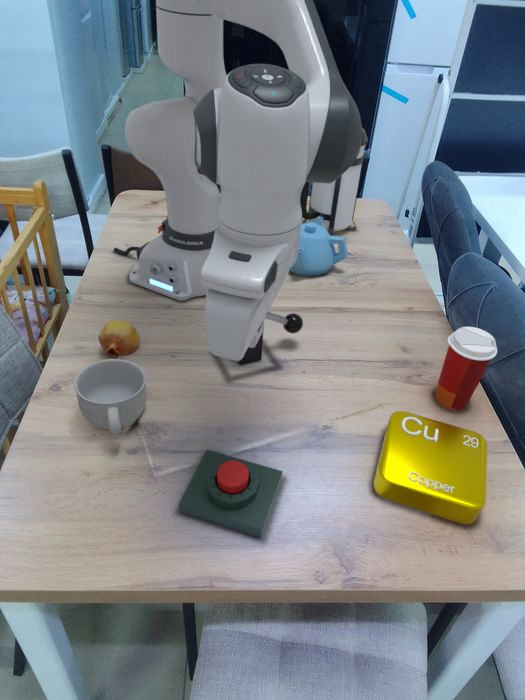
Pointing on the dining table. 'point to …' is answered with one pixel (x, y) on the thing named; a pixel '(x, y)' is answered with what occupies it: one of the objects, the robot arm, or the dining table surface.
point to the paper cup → (464, 366)
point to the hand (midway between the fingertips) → (252, 340)
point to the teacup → (111, 393)
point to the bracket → (253, 353)
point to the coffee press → (335, 197)
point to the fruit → (118, 338)
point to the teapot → (317, 250)
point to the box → (231, 495)
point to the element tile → (433, 467)
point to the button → (232, 477)
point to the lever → (287, 321)
